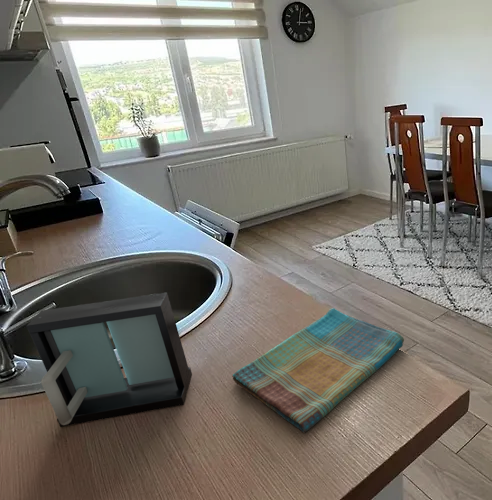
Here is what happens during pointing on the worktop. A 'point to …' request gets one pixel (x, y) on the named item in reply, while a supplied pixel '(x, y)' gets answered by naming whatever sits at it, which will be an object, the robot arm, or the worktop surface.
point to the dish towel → (318, 367)
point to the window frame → (125, 354)
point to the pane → (81, 367)
